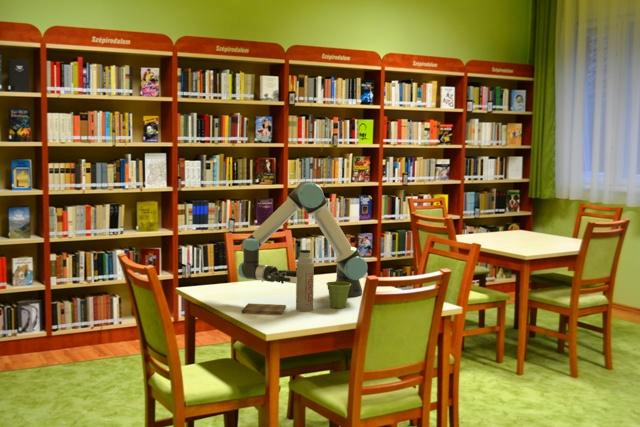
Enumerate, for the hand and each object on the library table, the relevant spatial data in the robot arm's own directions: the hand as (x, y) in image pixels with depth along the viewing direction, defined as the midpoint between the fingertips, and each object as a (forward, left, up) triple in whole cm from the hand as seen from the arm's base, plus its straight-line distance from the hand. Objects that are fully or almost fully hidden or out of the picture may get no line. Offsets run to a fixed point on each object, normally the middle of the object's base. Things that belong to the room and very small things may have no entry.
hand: (304, 278), depth 348 cm
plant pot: (-15, -9, -15) cm, 23 cm away
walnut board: (+18, +5, -15) cm, 24 cm away
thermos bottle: (0, 0, -15) cm, 15 cm away
